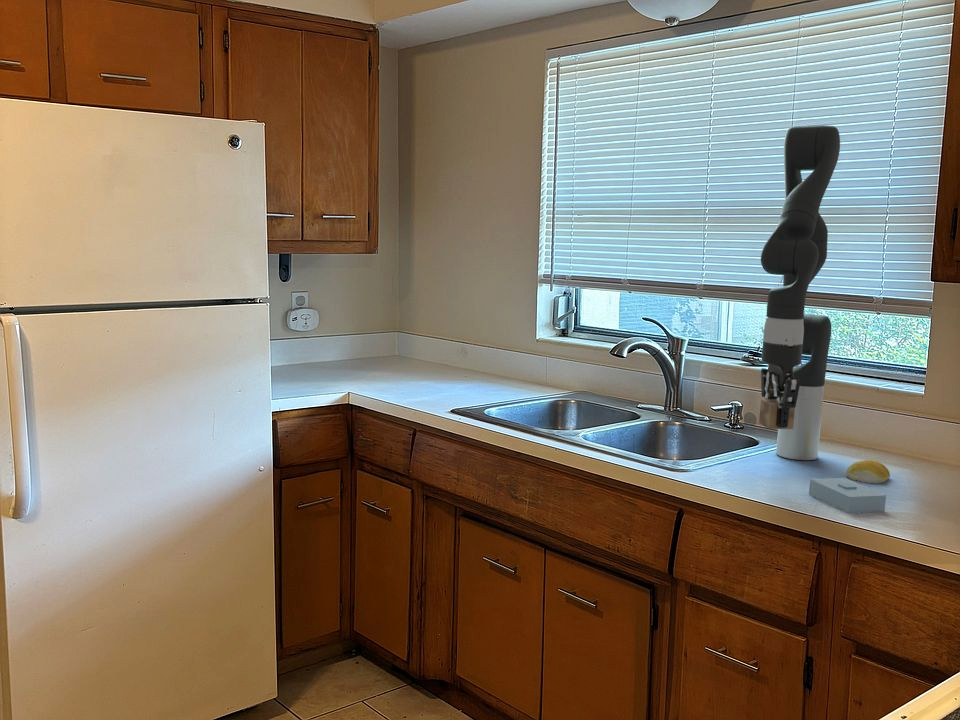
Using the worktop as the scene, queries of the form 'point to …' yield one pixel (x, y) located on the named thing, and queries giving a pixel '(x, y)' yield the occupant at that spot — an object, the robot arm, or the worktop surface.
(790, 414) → the walnut cube
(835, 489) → the butter dish
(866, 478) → the bread roll
